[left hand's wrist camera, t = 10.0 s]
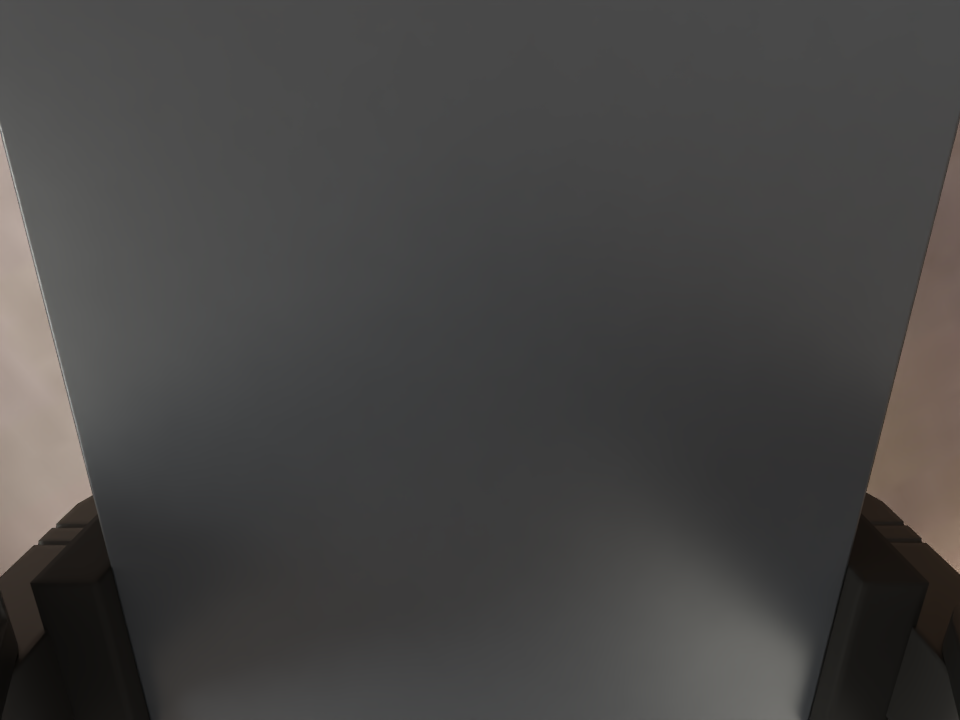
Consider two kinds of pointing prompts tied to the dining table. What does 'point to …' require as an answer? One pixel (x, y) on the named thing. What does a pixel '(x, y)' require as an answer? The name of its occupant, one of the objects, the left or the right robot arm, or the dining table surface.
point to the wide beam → (479, 335)
